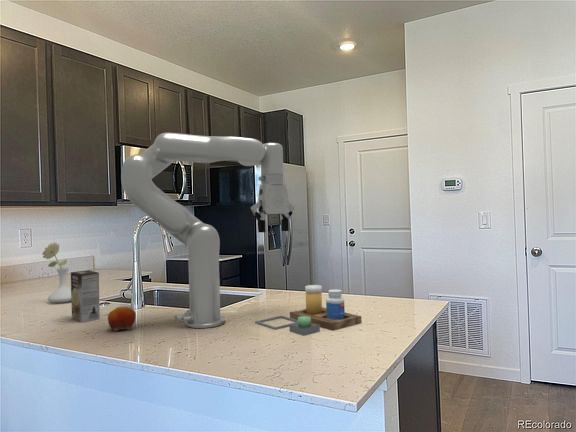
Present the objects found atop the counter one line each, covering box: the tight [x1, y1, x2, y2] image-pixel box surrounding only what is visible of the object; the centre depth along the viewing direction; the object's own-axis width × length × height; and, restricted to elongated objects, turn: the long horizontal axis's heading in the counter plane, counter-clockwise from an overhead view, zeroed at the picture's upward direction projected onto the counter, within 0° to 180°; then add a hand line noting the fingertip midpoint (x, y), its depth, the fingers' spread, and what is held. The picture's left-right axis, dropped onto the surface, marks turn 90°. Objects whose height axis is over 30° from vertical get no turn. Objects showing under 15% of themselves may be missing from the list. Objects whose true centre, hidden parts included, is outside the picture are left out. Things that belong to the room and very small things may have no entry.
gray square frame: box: [254, 315, 298, 331], centre depth 129 cm, size 10×10×2 cm
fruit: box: [107, 306, 137, 332], centre depth 131 cm, size 8×8×8 cm
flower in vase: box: [42, 242, 71, 303], centre depth 177 cm, size 13×11×25 cm
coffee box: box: [70, 270, 101, 323], centre depth 146 cm, size 9×6×16 cm
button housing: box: [289, 322, 321, 336], centre depth 119 cm, size 6×6×3 cm
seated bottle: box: [304, 284, 323, 315], centre depth 134 cm, size 5×5×10 cm
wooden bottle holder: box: [289, 306, 362, 331], centre depth 131 cm, size 12×19×3 cm, turn 39°
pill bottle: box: [325, 289, 346, 321], centre depth 127 cm, size 6×5×10 cm
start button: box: [298, 316, 311, 326], centre depth 119 cm, size 4×4×2 cm
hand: (273, 231), depth 143 cm, fingers open, 9 cm apart
